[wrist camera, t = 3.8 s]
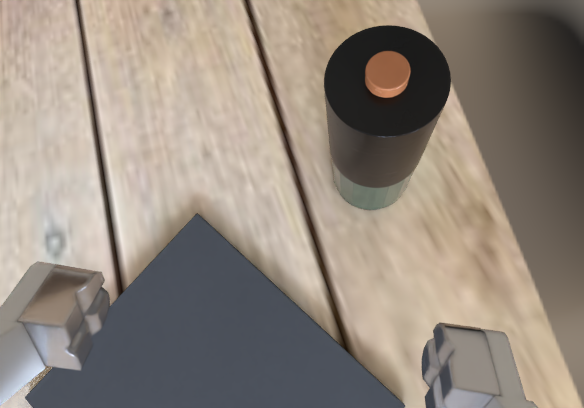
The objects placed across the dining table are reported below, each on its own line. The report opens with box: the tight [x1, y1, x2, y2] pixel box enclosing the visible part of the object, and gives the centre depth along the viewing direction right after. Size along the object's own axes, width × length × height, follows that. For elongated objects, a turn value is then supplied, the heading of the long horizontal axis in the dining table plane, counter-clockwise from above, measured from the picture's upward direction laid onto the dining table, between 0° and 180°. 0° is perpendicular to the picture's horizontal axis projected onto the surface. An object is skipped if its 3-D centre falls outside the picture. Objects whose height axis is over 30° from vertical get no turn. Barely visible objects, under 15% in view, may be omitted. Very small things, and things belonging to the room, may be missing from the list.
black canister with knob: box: [324, 26, 451, 188], centre depth 25 cm, size 6×6×10 cm
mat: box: [25, 214, 405, 408], centre depth 31 cm, size 20×18×1 cm
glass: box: [332, 160, 415, 210], centre depth 32 cm, size 6×6×6 cm
